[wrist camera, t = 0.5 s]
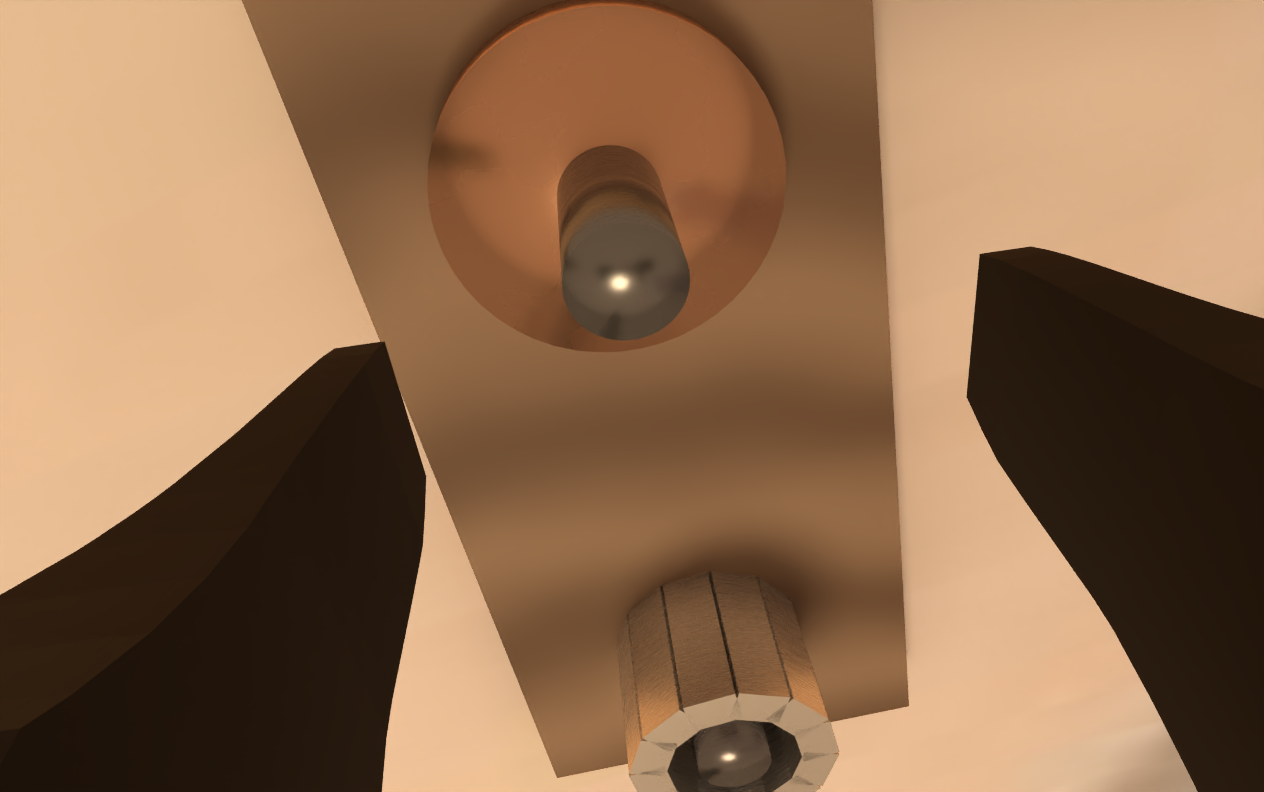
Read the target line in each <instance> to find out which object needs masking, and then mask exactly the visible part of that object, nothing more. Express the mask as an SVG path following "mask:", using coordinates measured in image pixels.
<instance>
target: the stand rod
mask: <svg viewBox="0 0 1264 792" xmlns="http://www.w3.org/2000/svg"><path fill="white" fill-rule="evenodd" d="M693 742H694V748H695V753H696V759H697V765H698V771H699V774H700V776H701V777H702V778H703V779H704V780H705V781H707V782H708V783H710V784H713V785H716V786H721V787H736V786H741V785H745V784H748V783H751V782H753V781H755V780H757V779H758V778H760V777H761V776H762V775H764V774H765V773H766V771H767V770H768V769H769V767H770V765H771V754H770V750H769V746H768V742H767V738H766V734H765V730H764V726H763V722H759V721H746V720H734V721H730V722H726V723H723V724H719V725H716V726H712V727H708V728H705V729H701V730H700V731H698V732H697V733H696V734H694V735H693Z"/></svg>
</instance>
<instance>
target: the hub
mask: <svg viewBox="0 0 1264 792" xmlns="http://www.w3.org/2000/svg"><path fill="white" fill-rule="evenodd" d="M785 190H786V160H785V153H784V147H783V140H782V136H781V133H780V130H779V126H778V123H777V120H776V117H775V114H774V112H773V110H772V108H771V106H770V103H769V101H768V99H767V97H766V95H765V93H764V92H763V90H762V89H761V87H760V86H759V84H758V83H757V81H756V79H755V78H754V76H753V75H752V74H751V73H750V71H749V70H748V69H747V68H746V66H745V65H744V64H743V63H742V61H741V60H740V59H739V58H738V57H737V56H736V54H735V53H734V52H733V51H732V50H731V49H730V47H729V46H728V45H727V44H726V43H724V42H723V41H722V40H721V39H720V38H719V37H718V36H716V35H715V34H714V33H713V32H712V31H711V30H709V29H708V28H706V27H705V26H703V25H702V24H700V23H699V22H697V21H696V20H694V19H693V18H691V17H689V16H687V15H685V14H683V13H681V12H679V11H676V10H674V9H672V8H670V7H668V6H664V5H661V4H658V3H654V2H651V1H648V0H565V1H561V2H557V3H554V4H550V5H547V6H544V7H542V8H540V9H538V10H535V11H533V12H531V13H528V14H526V15H524V16H522V17H521V18H519V19H517V20H516V21H514V22H513V23H511V24H509V25H508V26H506V27H504V28H503V29H502V30H501V31H499V32H498V33H497V34H496V35H494V36H493V37H492V38H491V39H490V40H488V41H487V42H486V43H485V44H484V45H483V46H482V47H481V48H480V49H479V50H478V51H477V53H476V54H475V55H474V56H473V57H472V58H471V59H470V60H469V61H468V63H467V64H466V66H465V67H464V69H463V70H462V72H461V73H460V74H459V76H458V77H457V79H456V80H455V82H454V84H453V86H452V88H451V90H450V92H449V94H448V96H447V98H446V100H445V102H444V105H443V108H442V111H441V114H440V117H439V120H438V123H437V126H436V130H435V133H434V136H433V140H432V145H431V150H430V156H429V161H428V177H427V191H428V201H429V211H430V215H431V219H432V223H433V227H434V231H435V234H436V237H437V239H438V242H439V244H440V247H441V250H442V252H443V254H444V256H445V258H446V260H447V261H448V263H449V265H450V267H451V269H452V271H453V272H454V274H455V275H456V276H457V278H458V279H459V280H460V282H461V283H462V285H463V286H464V287H465V289H466V290H467V291H468V292H469V293H470V294H471V295H472V296H473V297H474V298H475V299H476V300H477V301H478V303H479V304H480V305H481V306H483V307H484V308H485V309H486V310H488V311H489V312H490V313H491V314H492V315H494V316H495V317H496V318H497V319H499V320H500V321H502V322H504V323H505V324H507V325H508V326H510V327H511V328H513V329H515V330H516V331H518V332H521V333H523V334H525V335H527V336H529V337H531V338H533V339H536V340H538V341H541V342H544V343H547V344H550V345H553V346H557V347H562V348H567V349H571V350H576V351H587V352H621V351H629V350H636V349H641V348H645V347H649V346H653V345H657V344H661V343H663V342H666V341H668V340H671V339H674V338H676V337H679V336H681V335H683V334H685V333H687V332H689V331H691V330H693V329H695V328H697V327H699V326H700V325H702V324H703V323H704V322H706V321H707V320H709V319H710V318H712V317H713V316H715V315H716V314H718V313H719V312H720V311H721V310H722V309H723V308H725V307H726V306H727V305H728V304H729V303H730V302H732V301H733V300H734V298H735V297H736V296H737V295H738V294H739V293H740V292H741V291H742V290H743V289H744V288H745V287H746V285H747V284H748V283H749V281H750V280H751V279H752V277H753V276H754V275H755V273H756V272H757V270H758V269H759V268H760V266H761V264H762V262H763V260H764V259H765V257H766V255H767V253H768V251H769V249H770V247H771V245H772V242H773V240H774V237H775V235H776V232H777V230H778V227H779V223H780V219H781V215H782V211H783V207H784V199H785Z"/></svg>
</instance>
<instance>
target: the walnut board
mask: <svg viewBox="0 0 1264 792" xmlns="http://www.w3.org/2000/svg"><path fill="white" fill-rule="evenodd" d="M561 1H565V0H242V2H243V4H244V7H245V9H246V12H247V14H248V16H249V19H250V21H251V24H252V26H253V29H254V31H255V34H256V36H257V39H258V41H259V44H260V46H261V48H262V51H263V53H264V56H265V58H266V61H267V63H268V66H269V68H270V71H271V73H272V76H273V78H274V81H275V83H276V85H277V88H278V90H279V93H280V95H281V98H282V100H283V103H284V105H285V108H286V110H287V113H288V115H289V118H290V120H291V122H292V125H293V127H294V130H295V132H296V135H297V137H298V140H299V142H300V145H301V147H302V150H303V152H304V155H305V157H306V159H307V162H308V164H309V167H310V169H311V172H312V174H313V177H314V179H315V182H316V184H317V187H318V189H319V192H320V194H321V196H322V199H323V201H324V204H325V206H326V209H327V211H328V214H329V216H330V219H331V221H332V224H333V226H334V229H335V231H336V233H337V236H338V238H339V241H340V243H341V246H342V248H343V251H344V253H345V256H346V258H347V261H348V263H349V266H350V268H351V270H352V273H353V275H354V278H355V280H356V283H357V285H358V288H359V290H360V293H361V295H362V298H363V300H364V303H365V305H366V307H367V310H368V312H369V315H370V317H371V320H372V322H373V325H374V327H375V330H376V332H377V335H378V337H379V339H380V342H383V341H385V344H386V347H387V351H388V354H389V357H390V360H391V364H392V367H393V370H394V373H395V377H396V380H397V383H398V386H399V389H400V391H401V394H402V396H403V399H404V401H405V404H406V406H407V409H408V411H409V413H410V416H411V418H412V421H413V423H414V426H415V428H416V431H417V433H418V436H419V438H420V441H421V443H422V446H423V448H424V450H425V453H426V455H427V458H428V460H429V463H430V465H431V468H432V470H433V473H434V475H435V478H436V480H437V483H438V485H439V487H440V490H441V492H442V495H443V497H444V500H445V502H446V505H447V507H448V510H449V512H450V515H451V517H452V520H453V522H454V524H455V527H456V529H457V532H458V534H459V537H460V539H461V542H462V544H463V547H464V549H465V552H466V554H467V557H468V559H469V561H470V564H471V566H472V569H473V571H474V574H475V576H476V579H477V581H478V584H479V586H480V589H481V591H482V594H483V596H484V598H485V601H486V603H487V606H488V608H489V611H490V613H491V616H492V618H493V621H494V623H495V626H496V628H497V631H498V633H499V635H500V638H501V640H502V643H503V645H504V648H505V650H506V653H507V655H508V658H509V660H510V663H511V665H512V667H513V670H514V672H515V675H516V677H517V680H518V682H519V685H520V687H521V690H522V692H523V695H524V697H525V700H526V702H527V704H528V707H529V709H530V712H531V714H532V717H533V719H534V722H535V724H536V727H537V729H538V732H539V734H540V737H541V739H542V741H543V744H544V746H545V749H546V751H547V754H548V756H549V759H550V761H551V764H552V766H553V769H554V771H555V774H556V776H557V778H559V777H564V776H569V775H574V774H579V773H584V772H589V771H594V770H599V769H603V768H608V767H613V766H618V765H623V764H628V757H627V747H626V737H625V726H624V716H623V706H622V696H621V686H620V675H619V665H618V655H617V644H618V641H619V638H620V635H621V631H622V628H623V625H624V621H625V618H626V615H628V612H629V611H631V610H632V609H633V608H634V607H635V606H637V605H638V604H639V603H640V602H641V601H642V600H644V599H645V598H646V597H647V596H648V595H650V594H651V593H652V592H653V591H654V590H655V589H657V588H658V587H659V586H660V587H662V588H663V584H666V583H669V582H673V581H676V580H679V579H683V578H686V577H690V576H693V575H697V574H700V573H703V572H708V574H709V575H710V572H711V571H716V572H725V573H734V574H744V575H753V576H756V578H758V577H760V578H761V579H763V580H764V581H766V582H767V583H769V584H770V585H772V586H773V587H774V588H776V589H777V590H779V591H780V592H782V593H783V594H785V595H786V596H788V597H789V598H790V600H791V602H792V605H793V608H794V611H795V614H796V617H797V620H798V623H799V626H800V630H801V633H802V636H803V639H804V642H805V645H806V648H807V651H808V654H809V657H810V661H811V664H812V667H813V670H814V673H815V676H816V679H817V682H818V685H819V688H820V692H821V695H822V698H823V701H824V704H825V707H826V710H827V713H828V716H829V719H830V722H833V721H838V720H843V719H848V718H853V717H858V716H863V715H868V714H873V713H877V712H882V711H887V710H892V709H897V708H902V707H907V706H909V699H908V680H907V661H906V641H905V622H904V603H903V584H902V564H901V545H900V526H899V506H898V487H897V468H896V449H895V429H894V410H893V391H892V371H891V352H890V333H889V314H888V294H887V275H886V256H885V236H884V217H883V198H882V179H881V159H880V140H879V121H878V101H877V82H876V63H875V44H874V24H873V5H872V0H648V1H651V2H654V3H658V4H661V5H664V6H668V7H670V8H672V9H674V10H676V11H679V12H681V13H683V14H685V15H687V16H689V17H691V18H693V19H694V20H696V21H697V22H699V23H700V24H702V25H703V26H705V27H706V28H708V29H709V30H711V31H712V32H713V33H714V34H715V35H716V36H718V37H719V38H720V39H721V40H722V41H723V42H724V43H726V44H727V45H728V46H729V47H730V49H731V50H732V51H733V52H734V53H735V54H736V56H737V57H738V58H739V59H740V60H741V61H742V63H743V64H744V65H745V66H746V68H747V69H748V70H749V71H750V73H751V74H752V75H753V76H754V78H755V79H756V81H757V83H758V84H759V86H760V87H761V89H762V90H763V92H764V93H765V95H766V97H767V99H768V101H769V103H770V106H771V108H772V110H773V112H774V114H775V117H776V120H777V123H778V126H779V130H780V133H781V136H782V140H783V147H784V153H785V160H786V190H785V199H784V207H783V211H782V215H781V219H780V223H779V227H778V230H777V232H776V235H775V237H774V240H773V242H772V245H771V247H770V249H769V251H768V253H767V255H766V257H765V259H764V260H763V262H762V264H761V266H760V268H759V269H758V270H757V272H756V273H755V275H754V276H753V277H752V279H751V280H750V281H749V283H748V284H747V285H746V287H745V288H744V289H743V290H742V291H741V292H740V293H739V294H738V295H737V296H736V297H735V298H734V300H733V301H732V302H730V303H729V304H728V305H727V306H726V307H725V308H723V309H722V310H721V311H720V312H719V313H718V314H716V315H715V316H713V317H712V318H710V319H709V320H707V321H706V322H704V323H703V324H702V325H700V326H699V327H697V328H695V329H693V330H691V331H689V332H687V333H685V334H683V335H681V336H679V337H676V338H674V339H671V340H668V341H666V342H663V343H661V344H657V345H653V346H649V347H645V348H641V349H636V350H629V351H621V352H587V351H576V350H571V349H567V348H562V347H557V346H553V345H550V344H547V343H544V342H541V341H538V340H536V339H533V338H531V337H529V336H527V335H525V334H523V333H521V332H518V331H516V330H515V329H513V328H511V327H510V326H508V325H507V324H505V323H504V322H502V321H500V320H499V319H497V318H496V317H495V316H494V315H492V314H491V313H490V312H489V311H488V310H486V309H485V308H484V307H483V306H481V305H480V304H479V303H478V301H477V300H476V299H475V298H474V297H473V296H472V295H471V294H470V293H469V292H468V291H467V290H466V289H465V287H464V286H463V285H462V283H461V282H460V280H459V279H458V278H457V276H456V275H455V274H454V272H453V271H452V269H451V267H450V265H449V263H448V261H447V260H446V258H445V256H444V254H443V252H442V250H441V247H440V244H439V242H438V239H437V237H436V234H435V231H434V227H433V223H432V219H431V215H430V211H429V201H428V191H427V177H428V161H429V156H430V150H431V145H432V140H433V136H434V133H435V130H436V126H437V123H438V120H439V117H440V114H441V111H442V108H443V105H444V102H445V100H446V98H447V96H448V94H449V92H450V90H451V88H452V86H453V84H454V82H455V80H456V79H457V77H458V76H459V74H460V73H461V72H462V70H463V69H464V67H465V66H466V64H467V63H468V61H469V60H470V59H471V58H472V57H473V56H474V55H475V54H476V53H477V51H478V50H479V49H480V48H481V47H482V46H483V45H484V44H485V43H486V42H487V41H488V40H490V39H491V38H492V37H493V36H494V35H496V34H497V33H498V32H499V31H501V30H502V29H503V28H504V27H506V26H508V25H509V24H511V23H513V22H514V21H516V20H517V19H519V18H521V17H522V16H524V15H526V14H528V13H531V12H533V11H535V10H538V9H540V8H542V7H544V6H547V5H550V4H554V3H557V2H561Z"/></svg>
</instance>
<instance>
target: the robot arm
mask: <svg viewBox="0 0 1264 792" xmlns="http://www.w3.org/2000/svg"><path fill="white" fill-rule="evenodd" d="M967 399H968V401H969V403H970V405H971V407H972V409H973V412H974V414H975V416H976V418H977V420H978V422H979V425H980V427H981V429H982V431H983V433H984V435H985V437H986V439H987V441H988V443H989V445H990V447H991V449H992V451H993V453H994V455H995V457H996V459H997V460H998V462H999V463H1000V465H1001V466H1002V468H1003V469H1004V471H1005V472H1006V474H1007V476H1008V477H1009V478H1010V480H1011V481H1012V483H1013V484H1014V486H1015V487H1016V489H1017V490H1018V491H1019V493H1020V494H1021V496H1022V497H1023V499H1024V500H1025V502H1026V503H1027V505H1028V506H1029V507H1030V509H1031V510H1032V512H1033V513H1034V515H1035V516H1036V517H1037V519H1038V520H1039V522H1040V523H1041V525H1042V526H1043V527H1044V529H1045V530H1046V532H1047V533H1048V534H1049V536H1050V537H1051V539H1052V540H1053V542H1054V543H1055V544H1056V546H1057V547H1058V549H1059V550H1060V551H1061V553H1062V554H1063V556H1064V557H1065V559H1066V560H1067V561H1068V563H1069V564H1070V566H1071V567H1072V568H1073V570H1074V571H1075V573H1076V574H1077V576H1078V577H1079V578H1080V580H1081V581H1082V583H1083V584H1084V586H1085V587H1086V588H1087V590H1088V591H1089V593H1090V594H1091V595H1092V597H1093V598H1094V600H1095V602H1096V603H1097V605H1098V606H1099V608H1100V609H1101V611H1102V613H1103V614H1104V616H1105V617H1106V619H1107V620H1108V622H1109V624H1110V625H1111V627H1112V628H1113V630H1114V632H1115V634H1116V635H1117V637H1118V639H1119V641H1120V643H1121V645H1122V646H1123V648H1124V650H1125V652H1126V654H1127V656H1128V657H1129V659H1130V661H1131V663H1132V665H1133V667H1134V668H1135V670H1136V672H1137V674H1138V676H1139V678H1140V680H1141V681H1142V683H1143V685H1144V687H1145V689H1146V691H1147V692H1148V694H1149V696H1150V698H1151V700H1152V702H1153V704H1154V706H1155V708H1156V709H1157V711H1158V713H1159V715H1160V717H1161V719H1162V721H1163V723H1164V725H1165V727H1166V729H1167V731H1168V733H1169V735H1170V737H1171V739H1172V741H1173V743H1174V745H1175V747H1176V749H1177V751H1178V753H1179V755H1180V757H1181V759H1182V761H1183V763H1184V765H1185V767H1186V769H1187V771H1188V773H1189V775H1190V777H1191V779H1192V781H1193V783H1194V785H1195V787H1196V789H1197V791H1198V792H1264V318H1260V317H1257V316H1253V315H1250V314H1246V313H1243V312H1239V311H1236V310H1232V309H1229V308H1226V307H1223V306H1220V305H1217V304H1213V303H1210V302H1207V301H1204V300H1201V299H1198V298H1195V297H1191V296H1188V295H1185V294H1182V293H1179V292H1176V291H1173V290H1170V289H1167V288H1164V287H1161V286H1158V285H1155V284H1153V283H1150V282H1147V281H1144V280H1141V279H1138V278H1135V277H1132V276H1129V275H1126V274H1123V273H1120V272H1117V271H1114V270H1111V269H1108V268H1106V267H1103V266H1100V265H1097V264H1094V263H1090V262H1087V261H1084V260H1081V259H1078V258H1075V257H1071V256H1068V255H1065V254H1061V253H1058V252H1054V251H1050V250H1046V249H1040V248H1035V247H1025V248H1018V249H1011V250H1004V251H997V252H990V253H984V254H980V258H979V269H978V280H977V290H976V301H975V312H974V323H973V334H972V345H971V355H970V366H969V377H968V388H967ZM425 492H426V475H425V471H424V468H423V465H422V462H421V458H420V455H419V452H418V449H417V445H416V442H415V439H414V435H413V432H412V429H411V426H410V422H409V419H408V416H407V413H406V409H405V406H404V403H403V400H402V396H401V393H400V390H399V386H398V383H397V380H396V377H395V373H394V370H393V367H392V364H391V360H390V357H389V354H388V351H387V347H386V344H385V341H383V342H377V343H370V344H363V345H356V346H349V347H343V348H336V349H333V350H332V351H330V352H329V353H327V354H326V355H325V356H323V357H322V358H321V359H319V360H318V361H317V362H316V363H315V364H313V365H312V366H311V367H310V368H309V369H308V370H306V371H305V372H304V373H303V374H302V375H301V376H300V377H298V378H297V379H296V380H295V381H294V382H293V383H292V384H291V385H290V386H288V387H287V388H286V389H285V390H284V391H283V392H282V393H281V394H280V395H278V396H277V397H276V398H275V399H274V400H273V401H272V402H271V403H269V404H268V405H267V406H266V407H265V408H264V409H263V410H262V411H260V412H259V413H258V414H257V415H256V416H255V417H254V418H253V419H251V420H250V421H249V422H248V423H247V424H246V425H245V426H244V427H242V428H241V429H240V430H239V431H238V432H237V433H236V434H234V435H233V436H232V437H231V438H230V439H228V440H227V441H226V442H225V443H224V444H222V445H221V446H220V447H219V448H217V449H216V450H215V451H214V452H212V453H211V454H210V455H209V456H208V457H206V458H205V459H204V460H203V461H201V462H200V463H199V464H198V465H196V466H195V467H194V468H193V469H192V470H190V471H189V472H188V473H187V474H185V475H184V476H183V477H182V478H180V479H179V480H178V481H177V482H176V483H174V484H173V485H172V486H170V487H169V488H168V489H166V490H165V491H164V492H162V493H161V494H160V495H158V496H157V497H156V498H154V499H153V500H152V501H150V502H149V503H147V504H146V505H145V506H143V507H142V508H140V509H139V510H138V511H136V512H135V513H133V514H132V515H130V516H129V517H127V518H126V519H124V520H123V521H121V522H120V523H118V524H117V525H115V526H114V527H112V528H111V529H109V530H108V531H106V532H105V533H104V534H102V535H101V536H99V537H98V538H96V539H95V540H93V541H91V542H90V543H88V544H87V545H85V546H84V547H82V548H80V549H79V550H77V551H76V552H74V553H72V554H70V555H69V556H67V557H65V558H64V559H62V560H60V561H58V562H57V563H55V564H53V565H51V566H50V567H48V568H46V569H44V570H43V571H41V572H39V573H38V574H36V575H34V576H32V577H31V578H29V579H27V580H25V581H24V582H22V583H20V584H19V585H17V586H15V587H13V588H12V589H10V590H8V591H6V592H5V593H3V594H1V595H0V792H382V782H383V770H384V759H385V747H386V737H387V730H388V723H389V717H390V710H391V704H392V698H393V693H394V688H395V683H396V678H397V673H398V668H399V664H400V659H401V654H402V649H403V644H404V639H405V634H406V629H407V624H408V619H409V614H410V609H411V604H412V599H413V594H414V589H415V584H416V579H417V573H418V568H419V563H420V558H421V552H422V547H423V534H424V517H425Z"/></svg>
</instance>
